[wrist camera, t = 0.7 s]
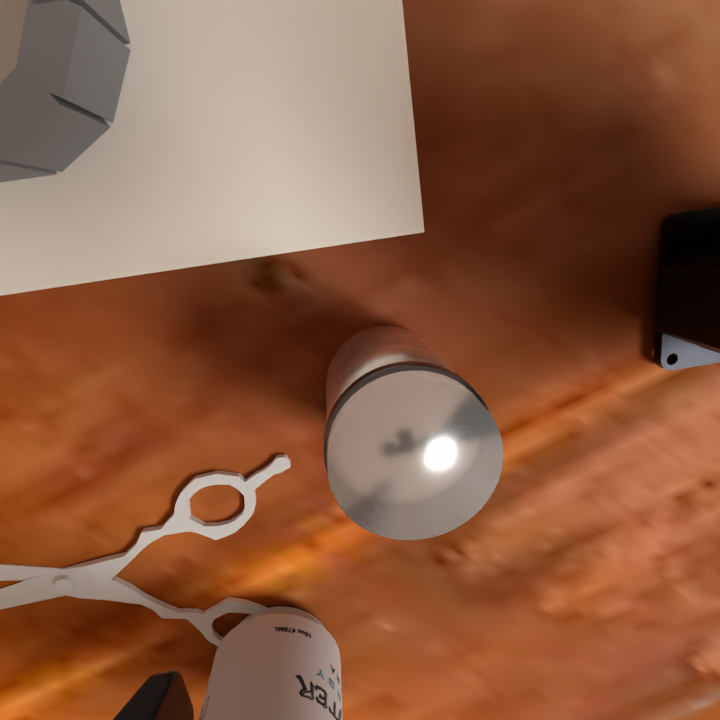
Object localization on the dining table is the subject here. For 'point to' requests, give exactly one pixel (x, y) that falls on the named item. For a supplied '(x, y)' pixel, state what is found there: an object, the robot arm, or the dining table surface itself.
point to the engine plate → (198, 133)
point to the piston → (406, 437)
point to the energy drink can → (275, 670)
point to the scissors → (101, 573)
